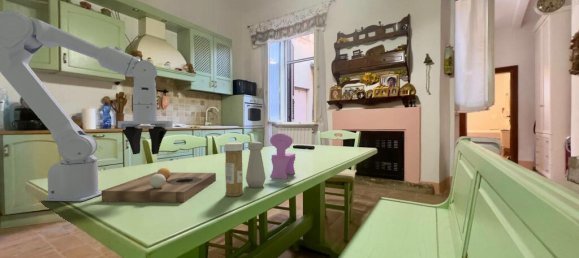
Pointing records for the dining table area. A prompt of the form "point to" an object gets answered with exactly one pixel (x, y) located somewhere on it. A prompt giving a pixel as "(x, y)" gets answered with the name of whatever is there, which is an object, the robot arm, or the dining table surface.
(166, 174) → the orange ball
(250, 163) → the salt shaker
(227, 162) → the spice jar
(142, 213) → the dining table surface
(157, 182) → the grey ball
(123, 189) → the board
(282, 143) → the toy chair
